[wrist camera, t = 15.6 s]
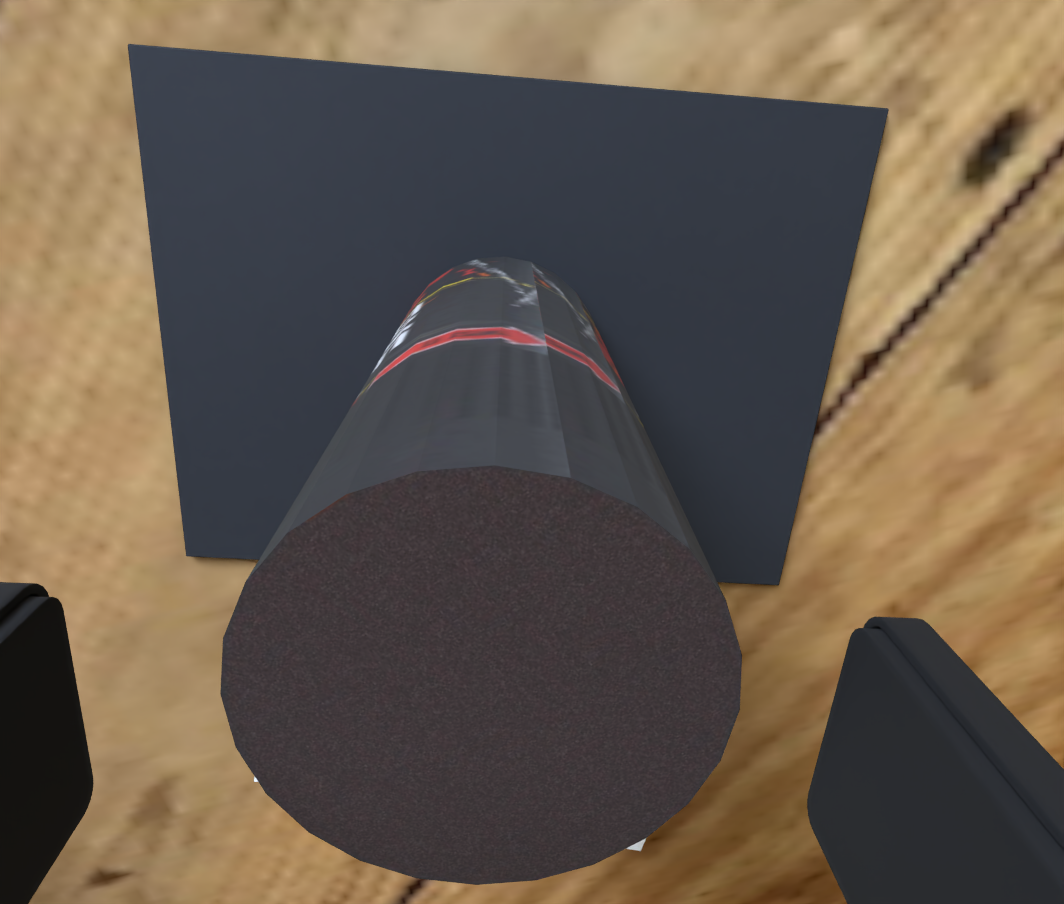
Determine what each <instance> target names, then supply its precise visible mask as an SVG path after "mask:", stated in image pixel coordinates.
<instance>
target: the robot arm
mask: <svg viewBox="0 0 1064 904" xmlns="http://www.w3.org/2000/svg"><path fill="white" fill-rule="evenodd" d="M92 791H93V774H92V769H91V763H90V757H89V752H88V746H87V740H86V735H85V729H84V724H83V718H82V712H81V707H80V701H79V695H78V690H77V684H76V678H75V673H74V667H73V662H72V656H71V650H70V645H69V639H68V633H67V628H66V622H65V616H64V611H63V607H62V604H61V602H60V601H59V600H58V599H57V598H54V597H49V595H48V592H47V591H46V590H45V588H44V587H43V586H41V585H39V584H31V583H6V582H0V904H28V903H29V901H30V900H31V898H32V896H33V895H34V893H35V892H36V890H37V889H38V887H39V885H40V884H41V882H42V881H43V879H44V877H45V876H46V874H47V873H48V871H49V870H50V868H51V866H52V865H53V863H54V862H55V860H56V858H57V857H58V855H59V854H60V852H61V851H62V849H63V847H64V846H65V844H66V843H67V841H68V839H69V838H70V836H71V835H72V833H73V831H74V830H75V828H76V827H77V825H78V824H79V822H80V820H81V819H82V817H83V816H84V814H85V812H86V810H87V808H88V805H89V803H90V800H91V796H92ZM807 808H808V816H809V820H810V824H811V827H812V829H813V831H814V834H815V836H816V838H817V840H818V842H819V844H820V846H821V848H822V851H823V853H824V855H825V857H826V859H827V861H828V863H829V865H830V868H831V870H832V872H833V874H834V876H835V878H836V880H837V882H838V885H839V887H840V889H841V891H842V893H843V895H844V897H845V899H846V902H847V904H1064V769H1063V768H1062V767H1061V766H1060V765H1059V764H1058V763H1057V762H1056V761H1055V760H1054V759H1053V757H1052V756H1051V755H1050V754H1049V753H1048V752H1047V751H1046V750H1045V749H1044V748H1043V747H1042V746H1041V745H1040V743H1039V742H1038V741H1037V740H1036V739H1035V738H1034V737H1033V736H1032V735H1031V734H1030V733H1029V732H1028V731H1027V729H1026V728H1025V727H1024V726H1023V725H1022V724H1021V723H1020V722H1019V721H1018V720H1017V719H1016V718H1015V717H1014V715H1013V714H1012V713H1011V712H1010V711H1009V710H1008V709H1007V708H1006V707H1005V706H1004V705H1003V704H1002V703H1001V701H1000V700H999V699H998V698H997V697H996V696H995V695H994V694H993V693H992V692H991V691H990V690H989V689H988V687H987V686H986V685H985V684H984V683H983V682H982V681H981V680H980V679H979V678H978V677H977V676H976V675H975V673H974V672H973V671H972V670H971V669H970V668H969V667H968V666H967V665H966V664H965V663H964V662H963V661H962V659H961V658H960V657H959V656H958V655H957V654H956V653H955V652H954V651H953V650H952V649H951V648H950V647H949V645H948V644H947V643H946V642H945V641H944V640H943V639H942V638H941V637H940V636H939V635H938V634H937V633H936V631H935V630H934V629H933V628H932V627H931V626H930V625H929V624H928V623H926V622H925V621H924V620H921V619H917V618H892V617H873V618H871V619H869V620H868V621H867V622H866V624H865V625H864V628H858V629H856V630H855V631H854V632H853V633H852V635H851V637H850V640H849V644H848V648H847V651H846V655H845V659H844V662H843V666H842V670H841V674H840V677H839V681H838V685H837V689H836V692H835V696H834V700H833V703H832V707H831V711H830V715H829V718H828V722H827V726H826V730H825V733H824V737H823V741H822V744H821V748H820V752H819V756H818V759H817V763H816V767H815V771H814V774H813V778H812V782H811V785H810V789H809V793H808V799H807Z"/></svg>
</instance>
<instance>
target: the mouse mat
mask: <svg viewBox="0 0 1064 904" xmlns="http://www.w3.org/2000/svg"><path fill="white" fill-rule="evenodd" d="M128 51H129V60H130V69H131V77H132V86H133V95H134V104H135V112H136V121H137V130H138V139H139V147H140V156H141V165H142V173H143V182H144V191H145V200H146V208H147V217H148V226H149V235H150V243H151V252H152V261H153V269H154V278H155V287H156V296H157V304H158V313H159V322H160V331H161V339H162V348H163V357H164V365H165V374H166V383H167V392H168V400H169V409H170V418H171V427H172V435H173V444H174V453H175V461H176V470H177V479H178V488H179V496H180V505H181V514H182V523H183V531H184V540H185V549H186V556H192V557H213V558H233V559H253V560H259V559H260V557H261V556H262V554H263V553H264V551H265V549H266V548H267V546H268V544H269V543H270V541H271V539H272V538H273V536H274V534H275V533H276V531H277V529H278V528H279V526H280V524H281V523H282V521H283V519H284V518H285V516H286V514H287V513H288V511H289V509H290V508H291V506H292V504H293V503H294V501H295V499H296V498H297V496H298V494H299V493H300V491H301V489H302V488H303V486H304V484H305V483H306V481H307V479H308V478H309V476H310V475H311V473H312V471H313V470H314V468H315V466H316V465H317V463H318V461H319V460H320V458H321V456H322V455H323V453H324V451H325V450H326V448H327V446H328V445H329V443H330V441H331V440H332V438H333V436H334V435H335V433H336V431H337V430H338V428H339V426H340V425H341V423H342V421H343V420H344V418H345V416H346V415H347V413H348V411H349V410H350V408H351V406H352V405H353V403H354V402H355V400H356V398H357V397H358V395H359V393H360V392H361V390H362V388H363V387H364V385H365V383H366V382H367V380H368V378H369V377H370V375H371V373H372V372H373V370H374V368H375V367H376V365H377V363H378V362H379V360H380V358H381V357H382V355H383V353H384V352H385V350H386V348H387V347H388V345H389V343H390V342H391V340H392V338H393V337H394V335H395V333H396V332H397V330H398V328H399V327H400V325H401V324H402V322H403V320H404V319H405V317H406V315H407V314H408V312H409V310H410V309H411V307H412V305H413V304H414V302H415V301H416V300H417V299H418V297H419V296H420V295H421V294H422V292H423V291H424V290H425V289H426V287H427V286H428V285H429V284H430V283H431V282H432V281H434V280H435V279H436V278H438V277H439V276H441V275H442V274H444V273H445V272H446V271H448V270H449V269H451V268H452V267H455V266H458V265H461V264H463V263H466V262H469V261H472V260H475V259H479V258H492V257H510V258H515V259H520V260H525V261H530V262H533V263H535V264H537V265H539V266H541V267H543V268H545V269H547V270H549V271H551V272H553V273H555V274H556V275H558V276H559V277H560V278H561V279H562V280H563V281H564V282H565V283H567V284H568V285H569V286H570V287H571V288H572V289H573V290H574V291H575V292H576V293H577V295H578V296H579V298H580V299H581V301H582V302H583V304H584V305H585V307H586V308H587V310H588V311H589V313H590V315H591V317H592V319H593V321H594V323H595V325H596V327H597V330H598V332H599V334H600V336H601V338H602V340H603V342H604V344H605V346H606V349H607V351H608V353H609V355H610V357H611V359H612V361H613V363H614V365H615V368H616V370H617V372H618V374H619V376H620V378H621V380H622V382H623V384H624V387H625V389H626V391H627V393H628V395H629V397H630V399H631V401H632V403H633V406H634V408H635V410H636V412H637V414H638V416H639V418H640V420H641V422H642V425H643V427H644V429H645V431H646V433H647V435H648V437H649V439H650V441H651V444H652V446H653V448H654V450H655V452H656V454H657V456H658V458H659V460H660V463H661V465H662V467H663V469H664V471H665V473H666V475H667V477H668V479H669V482H670V484H671V486H672V488H673V490H674V492H675V494H676V496H677V498H678V501H679V503H680V505H681V507H682V509H683V511H684V513H685V515H686V517H687V520H688V522H689V524H690V526H691V528H692V530H693V532H694V534H695V536H696V539H697V541H698V543H699V545H700V547H701V549H702V551H703V553H704V555H705V558H706V560H707V562H708V564H709V566H710V568H711V570H712V572H713V574H714V577H715V579H716V581H717V582H723V583H744V584H764V585H779V582H780V578H781V573H782V569H783V565H784V560H785V556H786V552H787V547H788V543H789V539H790V534H791V530H792V526H793V521H794V517H795V513H796V508H797V504H798V500H799V495H800V491H801V487H802V482H803V478H804V474H805V469H806V465H807V461H808V456H809V452H810V448H811V443H812V439H813V435H814V430H815V426H816V422H817V417H818V413H819V409H820V404H821V400H822V396H823V391H824V387H825V383H826V378H827V374H828V370H829V365H830V361H831V357H832V352H833V348H834V344H835V339H836V335H837V331H838V326H839V322H840V318H841V314H842V309H843V305H844V301H845V296H846V292H847V288H848V283H849V279H850V275H851V270H852V266H853V262H854V257H855V253H856V249H857V244H858V240H859V236H860V231H861V227H862V223H863V218H864V214H865V210H866V205H867V201H868V197H869V192H870V188H871V184H872V179H873V175H874V171H875V166H876V162H877V158H878V153H879V149H880V145H881V140H882V136H883V132H884V127H885V123H886V119H887V114H888V109H887V108H876V107H864V106H852V105H840V104H828V103H817V102H805V101H793V100H781V99H770V98H758V97H746V96H734V95H723V94H711V93H699V92H687V91H675V90H664V89H652V88H640V87H628V86H617V85H605V84H593V83H581V82H570V81H558V80H546V79H534V78H522V77H511V76H499V75H487V74H475V73H464V72H452V71H440V70H428V69H417V68H405V67H393V66H381V65H369V64H358V63H346V62H334V61H322V60H311V59H299V58H287V57H275V56H264V55H252V54H240V53H228V52H216V51H205V50H193V49H181V48H169V47H158V46H146V45H134V44H128Z"/></svg>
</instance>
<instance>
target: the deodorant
mask: <svg viewBox="0 0 1064 904" xmlns="http://www.w3.org/2000/svg"><path fill="white" fill-rule="evenodd" d="M741 666H742V654H741V650H740V647H739V644H738V640H737V637H736V633H735V630H734V627H733V623H732V620H731V616H730V613H729V610H728V606H727V603H726V600H725V598H724V596H723V593H722V591H721V589H720V587H719V585H718V583H717V581H716V579H715V577H714V574H713V572H712V570H711V568H710V566H709V564H708V562H707V560H706V558H705V555H704V553H703V551H702V549H701V547H700V545H699V543H698V541H697V539H696V536H695V534H694V532H693V530H692V528H691V526H690V524H689V522H688V520H687V517H686V515H685V513H684V511H683V509H682V507H681V505H680V503H679V501H678V498H677V496H676V494H675V492H674V490H673V488H672V486H671V484H670V482H669V479H668V477H667V475H666V473H665V471H664V469H663V467H662V465H661V463H660V460H659V458H658V456H657V454H656V452H655V450H654V448H653V446H652V444H651V441H650V439H649V437H648V435H647V433H646V431H645V429H644V427H643V425H642V422H641V420H640V418H639V416H638V414H637V412H636V410H635V408H634V406H633V403H632V401H631V399H630V397H629V395H628V393H627V391H626V389H625V387H624V384H623V382H622V380H621V378H620V376H619V374H618V372H617V370H616V368H615V365H614V363H613V361H612V359H611V357H610V355H609V353H608V351H607V349H606V346H605V344H604V342H603V340H602V338H601V336H600V334H599V332H598V330H597V327H596V325H595V323H594V321H593V319H592V317H591V315H590V313H589V311H588V310H587V308H586V307H585V305H584V304H583V302H582V301H581V299H580V298H579V296H578V295H577V293H576V292H575V291H574V290H573V289H572V288H571V287H570V286H569V285H568V284H567V283H565V282H564V281H563V280H562V279H561V278H560V277H559V276H558V275H556V274H555V273H553V272H551V271H549V270H547V269H545V268H543V267H541V266H539V265H537V264H535V263H533V262H530V261H525V260H520V259H515V258H510V257H492V258H479V259H475V260H472V261H469V262H466V263H463V264H461V265H458V266H455V267H452V268H451V269H449V270H448V271H446V272H445V273H444V274H442V275H441V276H439V277H438V278H436V279H435V280H434V281H432V282H431V283H430V284H429V285H428V286H427V287H426V289H425V290H424V291H423V292H422V294H421V295H420V296H419V297H418V299H417V300H416V301H415V302H414V304H413V305H412V307H411V309H410V310H409V312H408V314H407V315H406V317H405V319H404V320H403V322H402V324H401V325H400V327H399V328H398V330H397V332H396V333H395V335H394V337H393V338H392V340H391V342H390V343H389V345H388V347H387V348H386V350H385V352H384V353H383V355H382V357H381V358H380V360H379V362H378V363H377V365H376V367H375V368H374V370H373V372H372V373H371V375H370V377H369V378H368V380H367V382H366V383H365V385H364V387H363V388H362V390H361V392H360V393H359V395H358V397H357V398H356V400H355V402H354V403H353V405H352V406H351V408H350V410H349V411H348V413H347V415H346V416H345V418H344V420H343V421H342V423H341V425H340V426H339V428H338V430H337V431H336V433H335V435H334V436H333V438H332V440H331V441H330V443H329V445H328V446H327V448H326V450H325V451H324V453H323V455H322V456H321V458H320V460H319V461H318V463H317V465H316V466H315V468H314V470H313V471H312V473H311V475H310V476H309V478H308V479H307V481H306V483H305V484H304V486H303V488H302V489H301V491H300V493H299V494H298V496H297V498H296V499H295V501H294V503H293V504H292V506H291V508H290V509H289V511H288V513H287V514H286V516H285V518H284V519H283V521H282V523H281V524H280V526H279V528H278V529H277V531H276V533H275V534H274V536H273V538H272V539H271V541H270V543H269V544H268V546H267V548H266V549H265V551H264V553H263V554H262V556H261V557H260V559H259V561H258V562H257V564H256V566H255V567H254V569H253V571H252V572H251V574H250V576H249V577H248V579H247V581H246V582H245V585H244V587H243V590H242V592H241V595H240V597H239V600H238V602H237V605H236V607H235V610H234V612H233V615H232V617H231V620H230V622H229V625H228V627H227V630H226V632H225V635H224V637H223V653H222V675H221V697H222V701H223V704H224V708H225V711H226V715H227V718H228V722H229V725H230V729H231V732H232V735H233V739H234V742H235V746H236V748H237V750H238V751H239V753H240V754H241V756H242V758H243V759H244V761H245V762H246V764H247V765H248V767H249V768H250V770H251V771H252V773H253V774H254V776H255V777H256V779H257V780H258V782H259V783H260V785H261V786H262V788H263V789H264V791H265V793H266V794H267V795H268V796H269V797H270V798H272V799H273V800H274V801H275V802H276V803H277V804H278V805H279V806H280V807H281V808H283V809H284V810H285V811H286V812H287V813H288V814H289V815H290V816H291V817H292V818H294V819H295V820H296V821H297V822H298V823H299V824H300V825H301V826H302V827H304V828H305V829H306V830H307V831H308V832H309V833H311V834H313V835H315V836H316V837H318V838H320V839H322V840H324V841H325V842H327V843H329V844H331V845H333V846H335V847H336V848H338V849H340V850H342V851H344V852H345V853H347V854H349V855H351V856H353V857H354V858H356V859H358V860H360V861H363V862H366V863H370V864H373V865H376V866H379V867H382V868H386V869H389V870H392V871H395V872H398V873H402V874H405V875H408V876H411V877H415V878H420V879H429V880H438V881H447V882H456V883H465V884H474V885H479V884H492V883H505V882H519V881H532V880H539V879H542V878H546V877H550V876H553V875H557V874H561V873H564V872H568V871H572V870H575V869H579V868H583V867H586V866H590V865H593V864H595V863H597V862H600V861H602V860H604V859H606V858H608V857H610V856H612V855H614V854H616V853H618V852H620V851H622V850H624V849H626V848H628V847H630V846H632V845H634V844H636V843H638V842H640V841H642V840H644V839H645V838H647V837H648V836H649V835H650V834H652V833H653V832H654V831H655V830H657V829H658V828H659V827H660V826H661V825H663V824H664V823H665V822H666V821H668V820H669V819H670V818H671V817H673V816H674V815H675V814H676V813H678V812H679V811H680V810H681V809H682V808H684V807H685V806H686V805H687V804H688V803H689V802H690V801H691V799H692V798H693V797H694V795H695V794H696V793H697V791H698V790H699V789H700V787H701V786H702V785H703V783H704V782H705V781H706V779H707V778H708V777H709V775H710V774H711V773H712V771H713V770H714V769H715V767H716V766H717V765H718V763H719V762H720V761H721V758H722V755H723V753H724V750H725V747H726V745H727V742H728V739H729V737H730V734H731V731H732V729H733V726H734V723H735V721H736V718H737V715H738V713H739V710H740V690H741Z"/></svg>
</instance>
